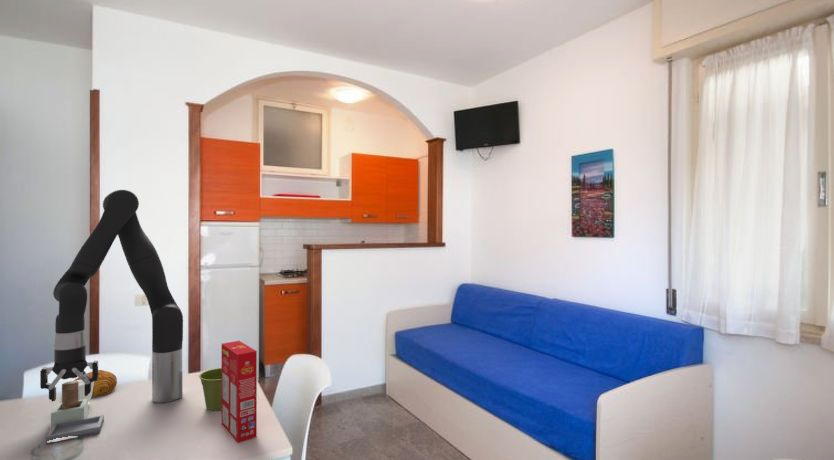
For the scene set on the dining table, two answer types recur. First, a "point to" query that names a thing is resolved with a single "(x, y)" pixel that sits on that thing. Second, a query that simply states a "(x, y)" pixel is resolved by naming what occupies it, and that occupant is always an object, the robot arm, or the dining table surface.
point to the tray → (76, 428)
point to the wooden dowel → (70, 395)
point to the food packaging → (239, 390)
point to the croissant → (103, 382)
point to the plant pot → (212, 388)
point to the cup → (82, 391)
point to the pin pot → (69, 413)
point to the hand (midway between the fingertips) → (70, 397)
